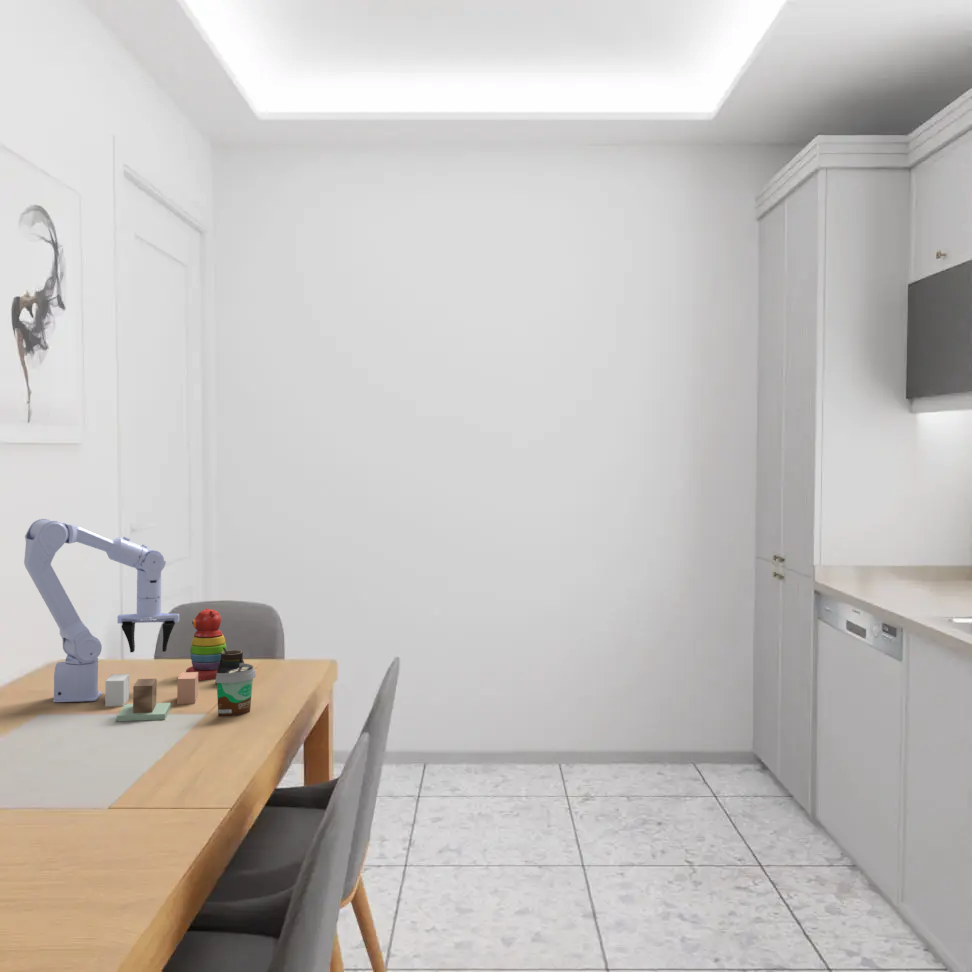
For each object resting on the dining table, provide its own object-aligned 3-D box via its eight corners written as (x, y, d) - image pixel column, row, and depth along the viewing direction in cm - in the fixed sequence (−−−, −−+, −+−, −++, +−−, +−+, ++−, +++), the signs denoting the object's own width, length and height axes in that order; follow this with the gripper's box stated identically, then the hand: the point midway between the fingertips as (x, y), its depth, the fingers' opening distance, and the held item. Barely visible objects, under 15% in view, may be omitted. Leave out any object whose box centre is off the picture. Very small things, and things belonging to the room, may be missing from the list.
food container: (240, 720, 206) (241, 675, 206) (215, 718, 207) (215, 673, 207) (264, 706, 218) (265, 663, 218) (240, 704, 219) (240, 662, 219)
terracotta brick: (177, 704, 219) (177, 678, 219) (180, 696, 226) (181, 672, 226) (194, 703, 220) (195, 678, 220) (198, 696, 227) (198, 672, 226)
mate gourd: (250, 679, 245) (250, 642, 244) (239, 686, 237) (240, 647, 237) (223, 678, 245) (224, 640, 245) (212, 685, 238) (212, 646, 237)
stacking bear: (184, 672, 251) (185, 607, 251) (222, 669, 256) (223, 605, 255) (189, 681, 242) (190, 613, 241) (229, 678, 246) (230, 611, 245)
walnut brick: (133, 713, 206) (133, 686, 206) (137, 705, 213) (138, 679, 212) (152, 712, 207) (152, 685, 206) (156, 704, 213) (156, 678, 213)
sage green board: (117, 721, 203) (117, 715, 203) (125, 709, 213) (125, 704, 213) (164, 719, 205) (164, 714, 205) (170, 707, 215) (170, 702, 215)
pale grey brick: (105, 706, 216) (105, 681, 216) (111, 699, 223) (111, 674, 222) (123, 706, 216) (123, 680, 216) (128, 698, 223) (129, 673, 223)
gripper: (115, 599, 227) (114, 655, 228) (177, 599, 230) (176, 653, 231) (120, 595, 234) (120, 649, 235) (180, 595, 237) (180, 648, 237)
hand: (148, 651), depth 233 cm, fingers open, 7 cm apart
